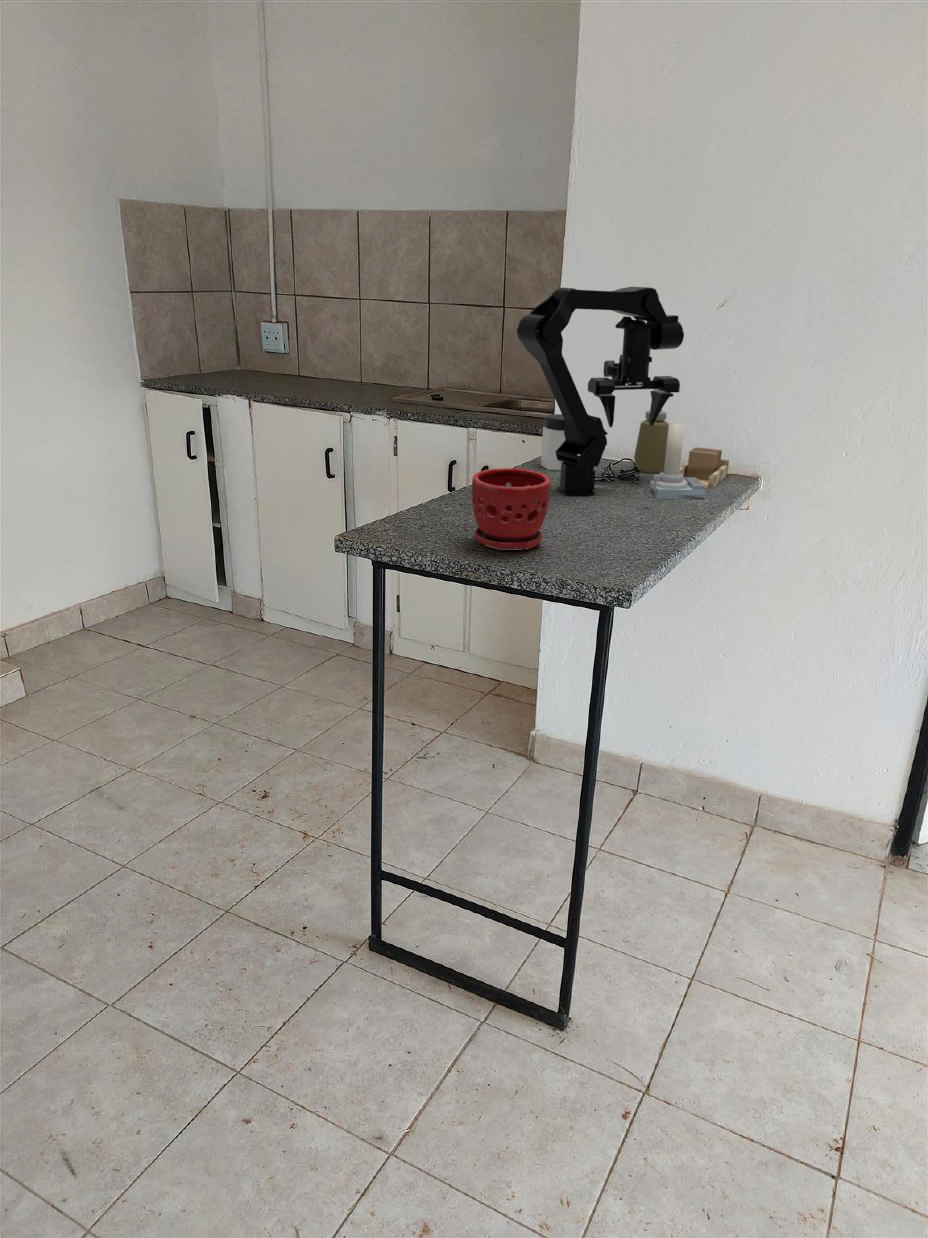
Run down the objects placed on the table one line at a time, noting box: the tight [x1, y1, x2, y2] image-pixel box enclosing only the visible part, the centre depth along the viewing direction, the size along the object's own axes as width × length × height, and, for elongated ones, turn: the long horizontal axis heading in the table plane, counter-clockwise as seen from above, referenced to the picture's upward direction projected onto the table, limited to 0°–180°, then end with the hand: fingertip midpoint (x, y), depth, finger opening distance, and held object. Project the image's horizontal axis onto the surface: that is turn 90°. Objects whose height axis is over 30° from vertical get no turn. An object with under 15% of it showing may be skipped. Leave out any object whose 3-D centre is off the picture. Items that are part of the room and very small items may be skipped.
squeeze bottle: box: [633, 408, 669, 474], centre depth 207 cm, size 8×8×18 cm
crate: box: [686, 446, 723, 480], centre depth 203 cm, size 6×6×6 cm
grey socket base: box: [649, 478, 706, 501], centre depth 191 cm, size 10×8×3 cm
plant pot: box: [471, 467, 551, 549], centre depth 152 cm, size 13×13×12 cm
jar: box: [540, 413, 580, 472], centre depth 213 cm, size 9×8×12 cm
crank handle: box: [652, 421, 685, 483], centre depth 188 cm, size 6×5×12 cm
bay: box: [679, 458, 730, 490], centre depth 201 cm, size 16×9×4 cm, turn 153°
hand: (630, 426), depth 193 cm, fingers open, 9 cm apart
